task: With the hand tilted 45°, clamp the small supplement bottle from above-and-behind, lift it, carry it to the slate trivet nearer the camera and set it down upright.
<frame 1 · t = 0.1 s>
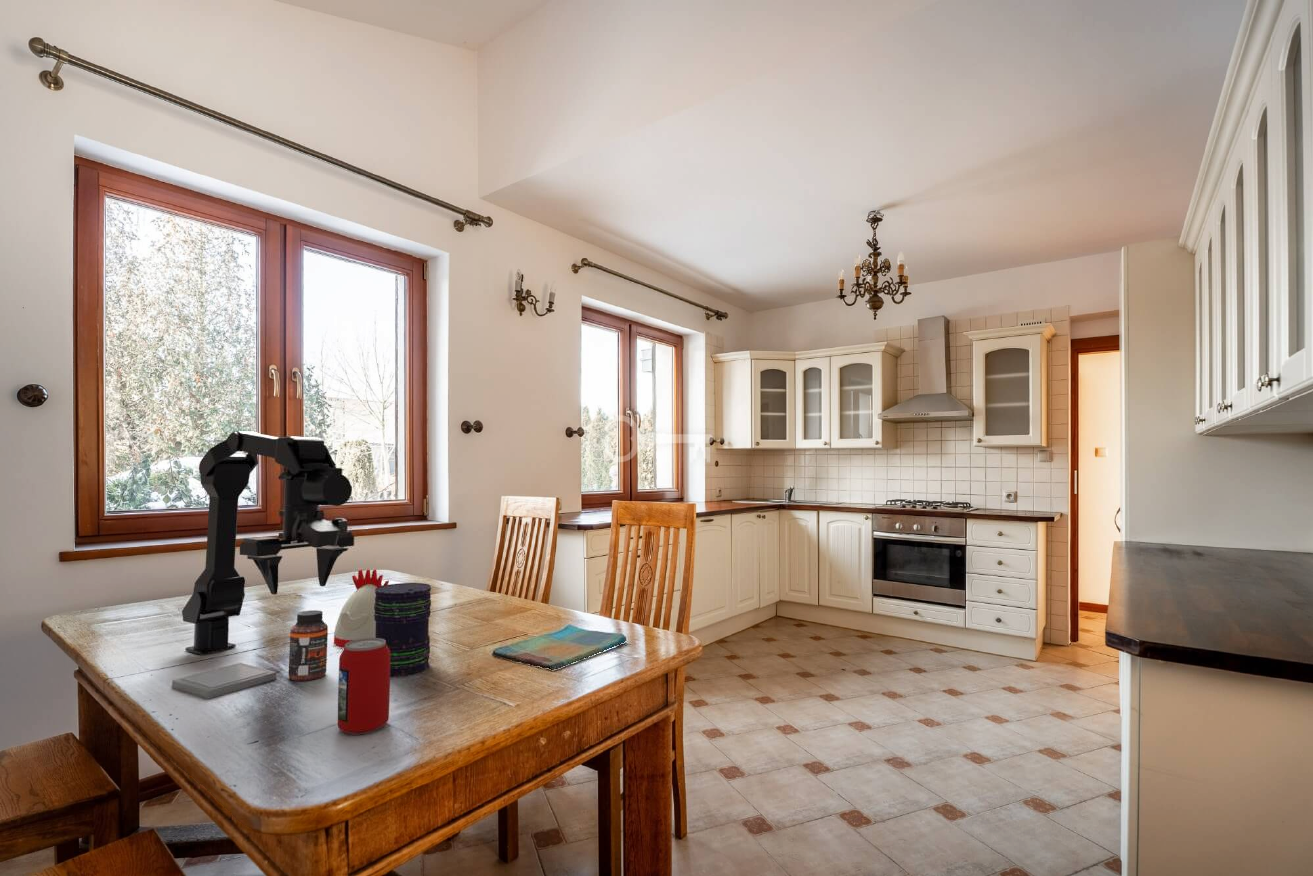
hand: (299, 590, 118), 15 cm above the table, tool pointing down, fingers open, 9 cm apart
slate trivet: (225, 683, 110), on the table
beverage can: (363, 729, 92), on the table
kitchen timer: (369, 640, 139), on the table
dish towel: (561, 653, 132), on the table
dark blue cylinder: (401, 670, 119), on the table
supplement bottle: (307, 677, 114), on the table
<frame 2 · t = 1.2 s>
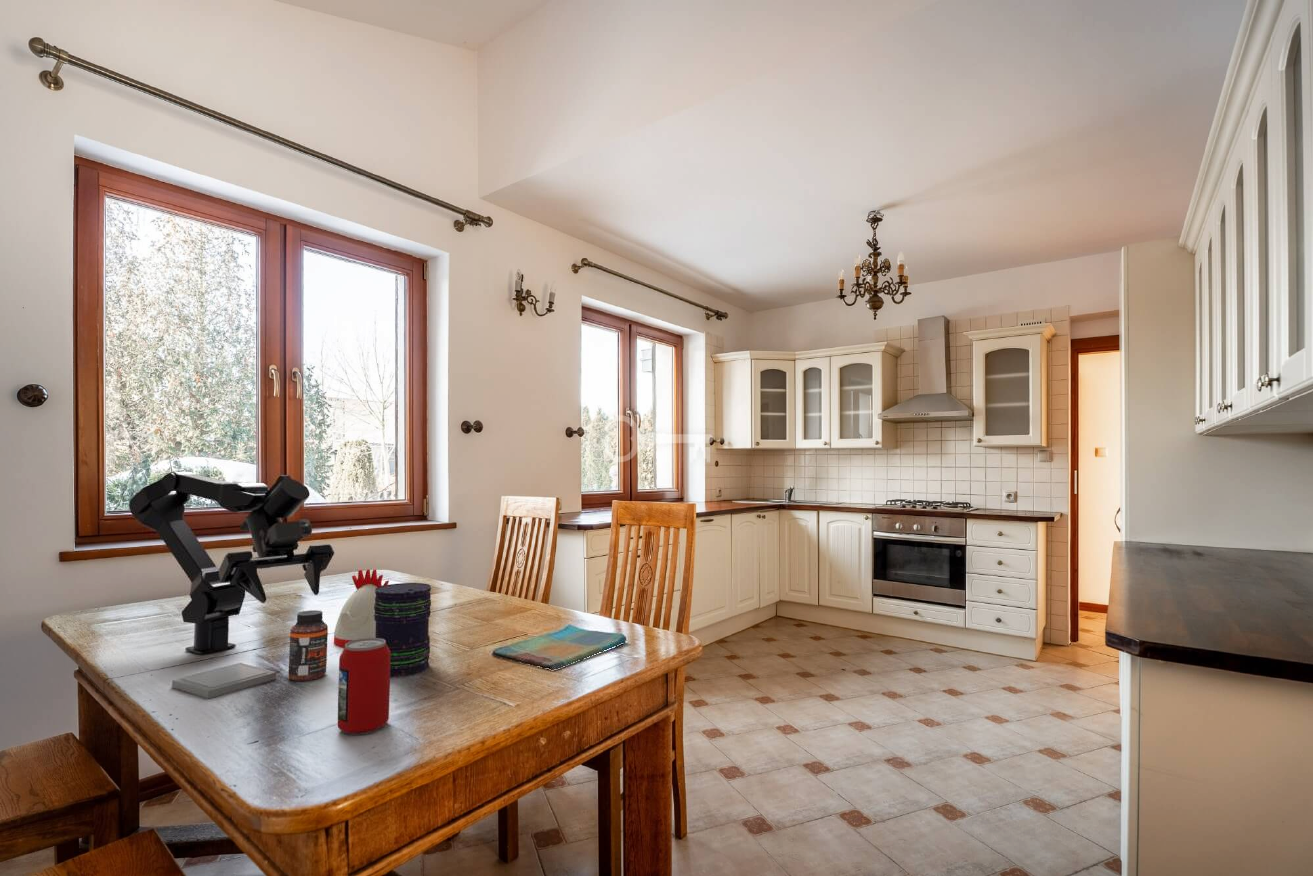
hand: (291, 597, 119), 13 cm above the table, tool tilted 45°, fingers open, 9 cm apart
nothing on the table moved.
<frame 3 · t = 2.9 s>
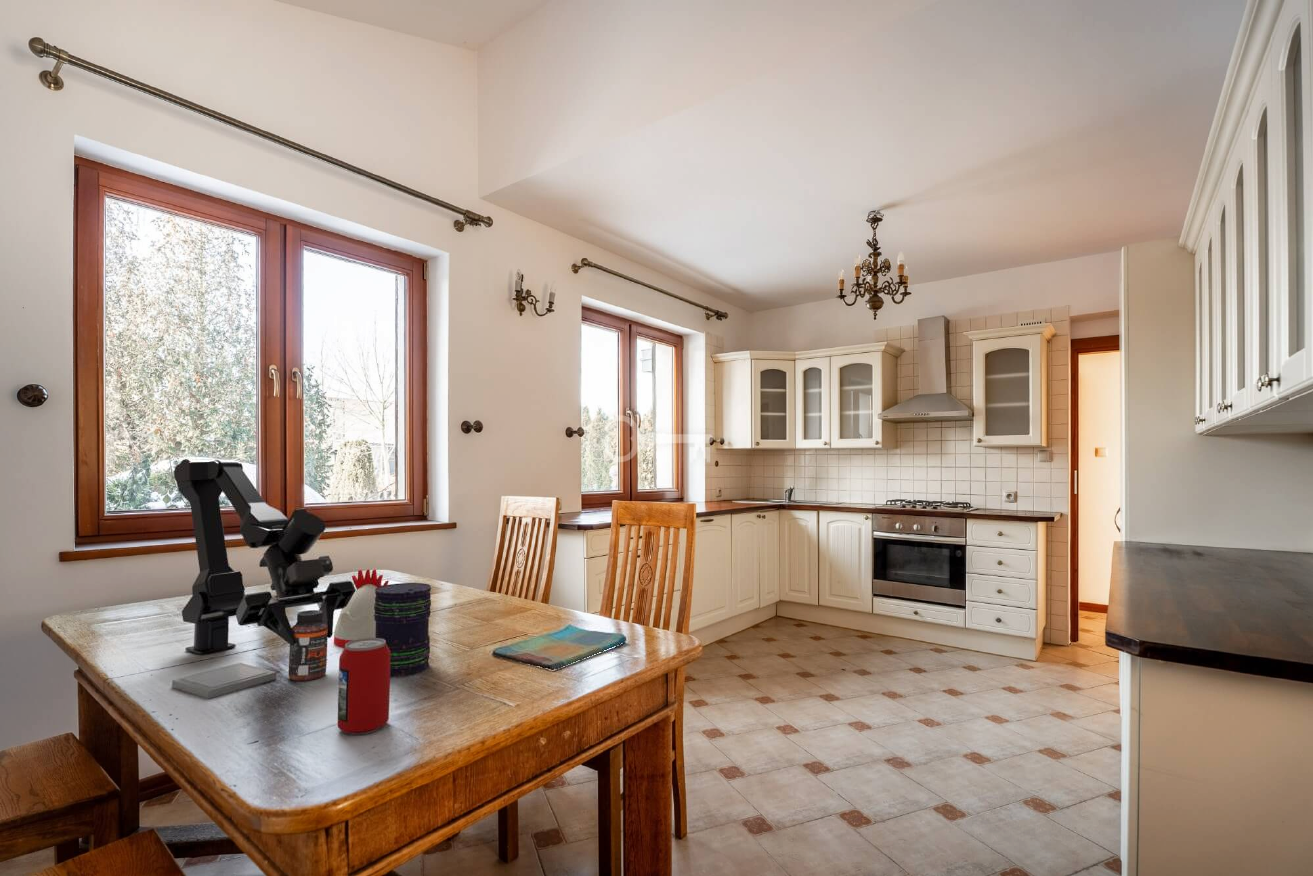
hand: (312, 640, 114), 7 cm above the table, tool tilted 45°, fingers closed on supplement bottle, 6 cm apart
supplement bottle: (307, 677, 114), on the table, touching gripper
everything else where it was.
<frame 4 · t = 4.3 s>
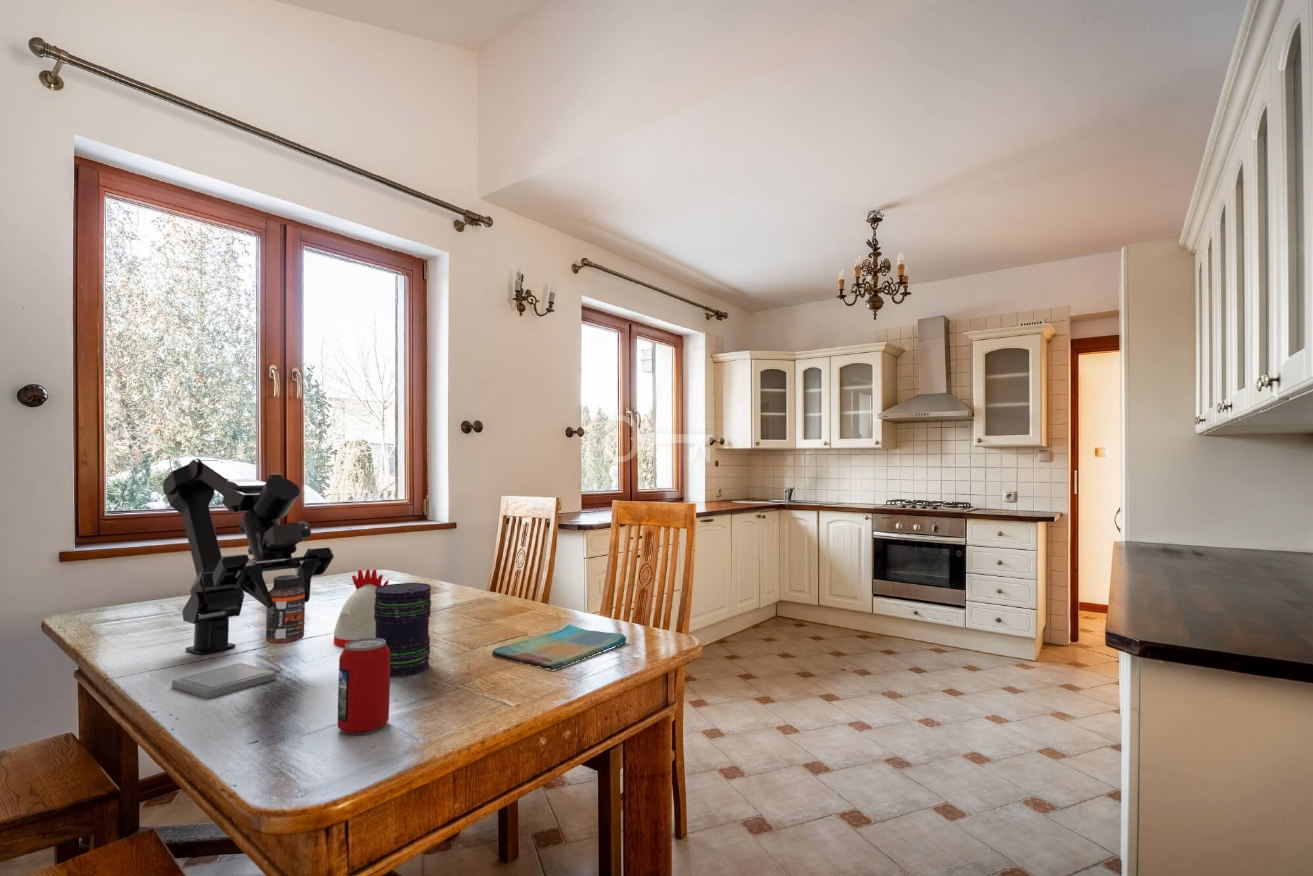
hand: (289, 603, 114), 13 cm above the table, tool tilted 45°, fingers closed on supplement bottle, 6 cm apart
supplement bottle: (285, 641, 115), point 6 cm above the table, touching gripper
everything else where it was.
when the fingers open (9 cm above the table, at t = 6.1 s): supplement bottle stays where it is, resting on slate trivet.
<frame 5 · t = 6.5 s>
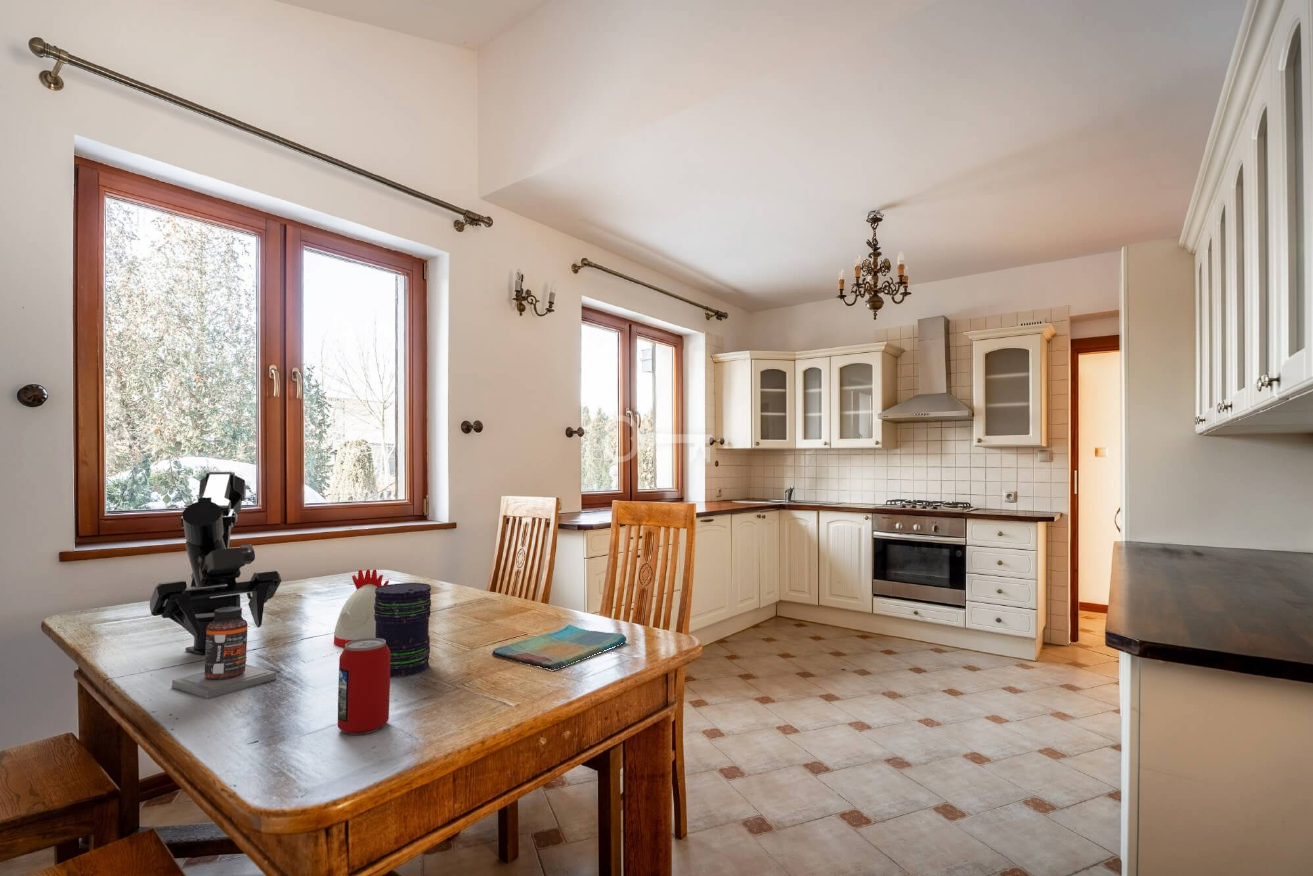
hand: (230, 631, 110), 9 cm above the table, tool tilted 45°, fingers open, 9 cm apart
supplement bottle: (225, 676, 111), point 1 cm above the table, touching slate trivet
everything else where it was.
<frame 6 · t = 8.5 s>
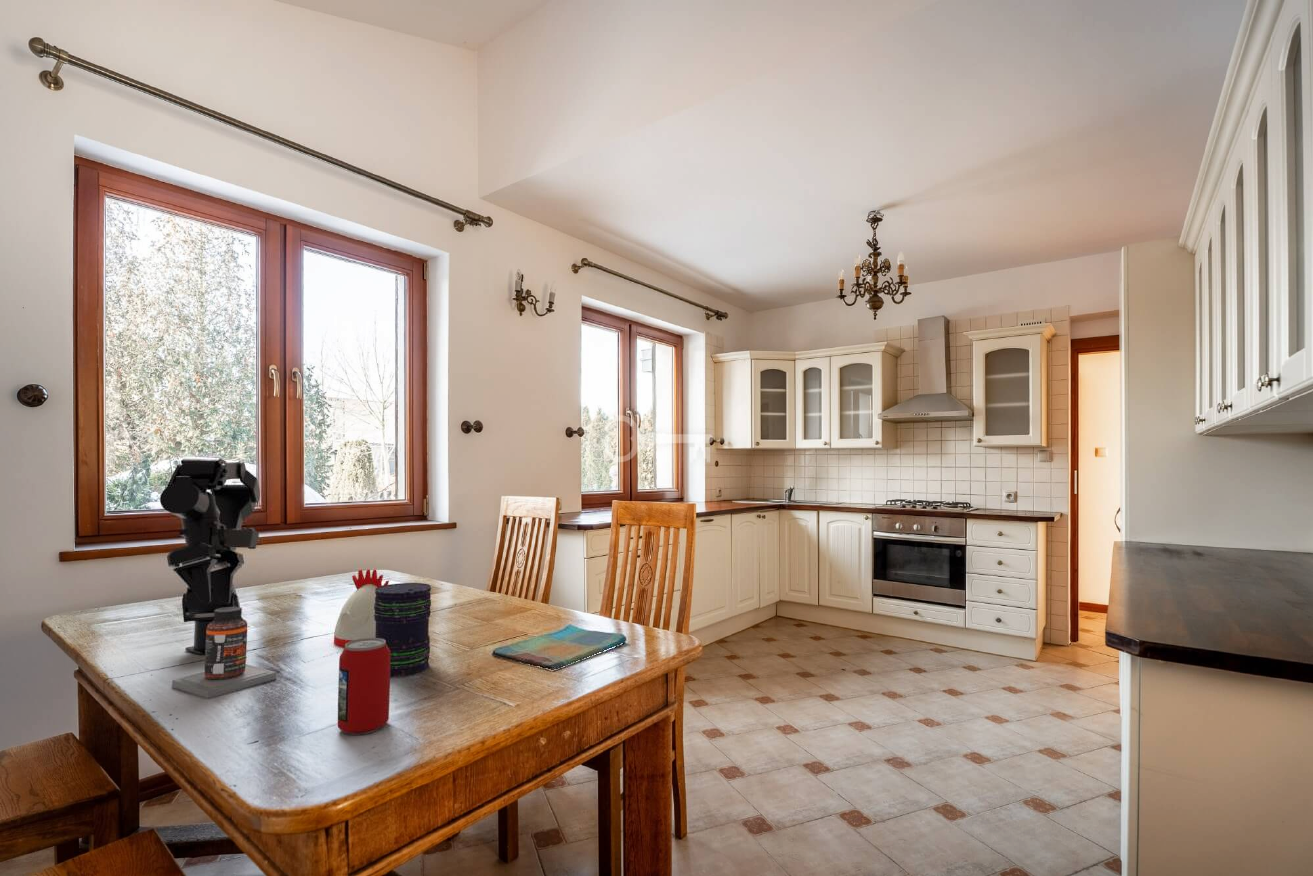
hand: (217, 603, 118), 12 cm above the table, tool tilted 20°, fingers open, 9 cm apart
nothing on the table moved.
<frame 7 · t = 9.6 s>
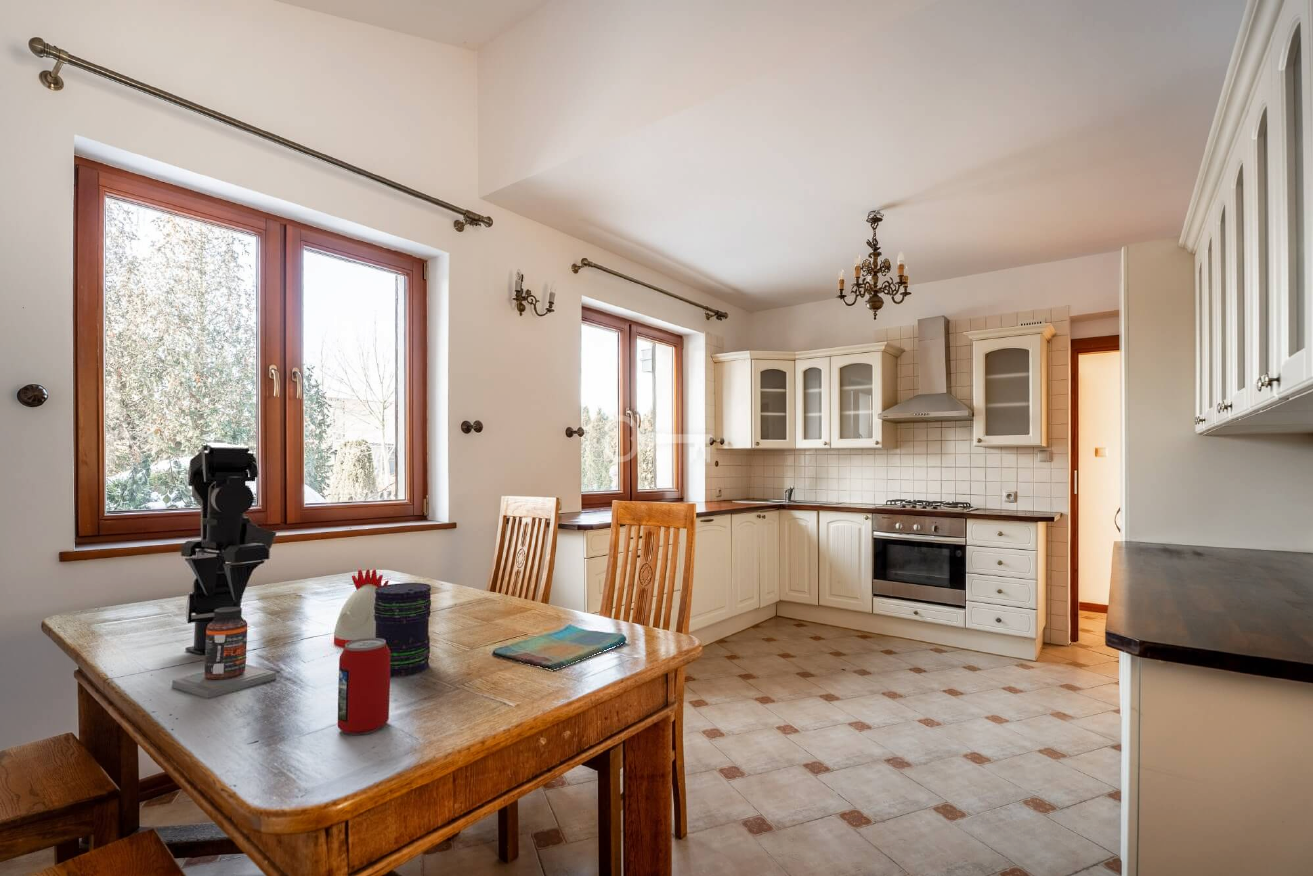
hand: (223, 597, 119), 13 cm above the table, tool pointing down, fingers open, 9 cm apart
nothing on the table moved.
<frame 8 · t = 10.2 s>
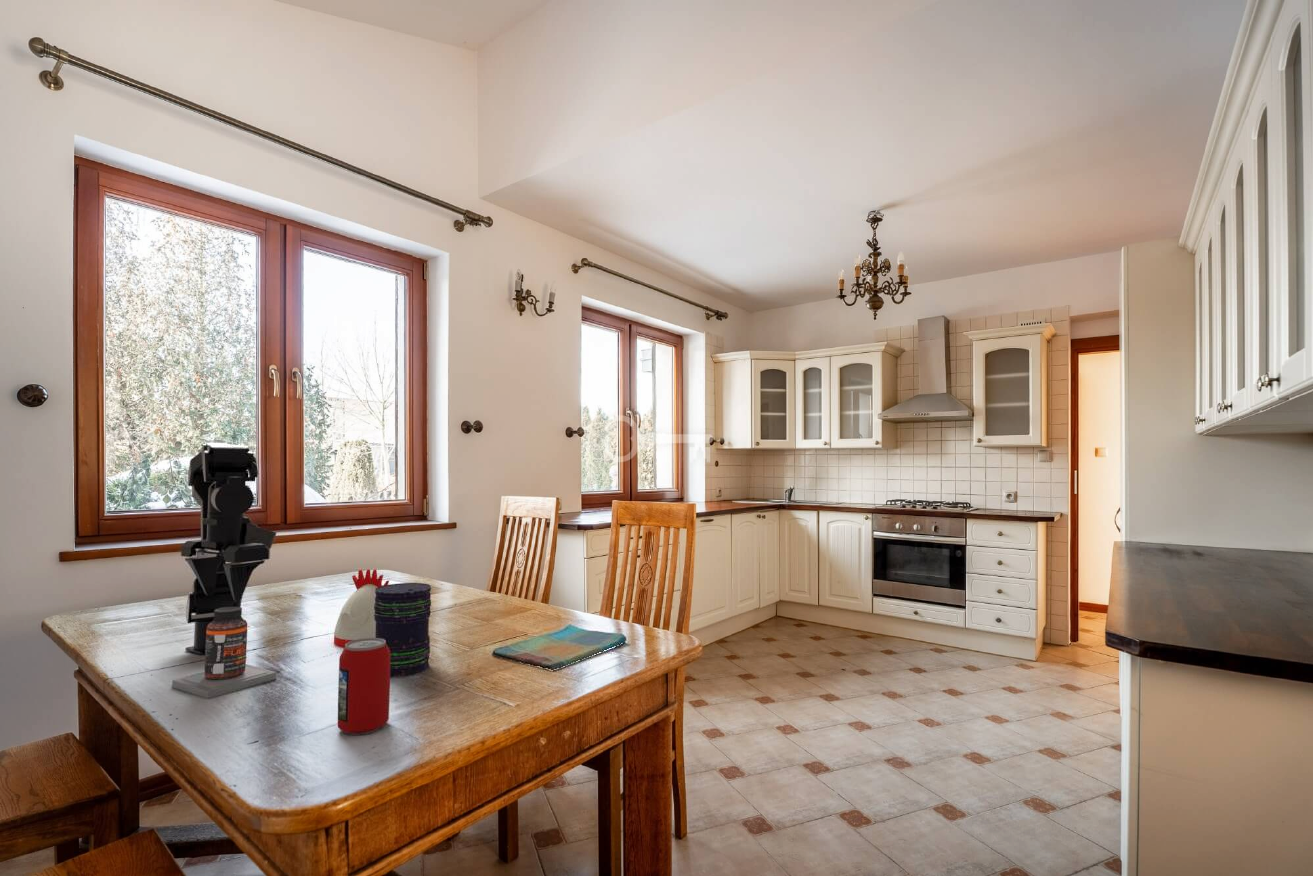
hand: (223, 597, 119), 13 cm above the table, tool pointing down, fingers open, 9 cm apart
nothing on the table moved.
at the end: supplement bottle inside the target area on the slate trivet (0.1 cm from its centre), point 1.1 cm above the slate trivet's base; supplement bottle tilted 0°; the gripper is holding nothing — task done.
